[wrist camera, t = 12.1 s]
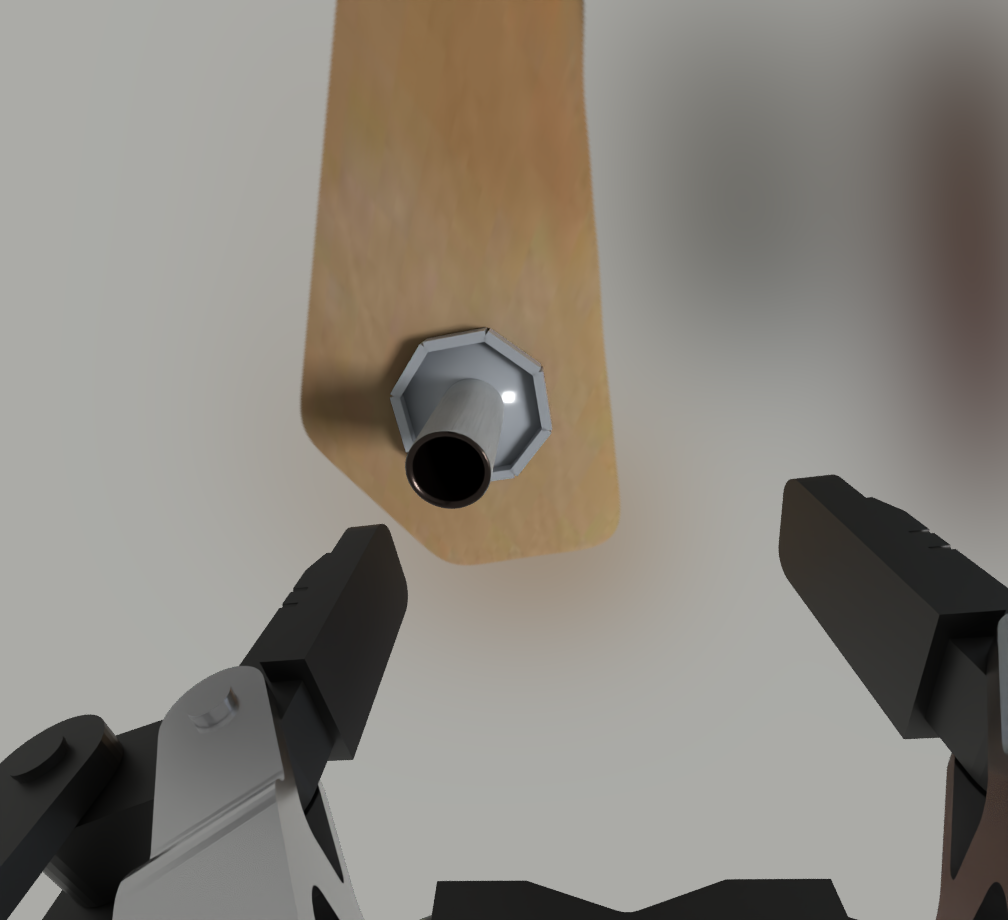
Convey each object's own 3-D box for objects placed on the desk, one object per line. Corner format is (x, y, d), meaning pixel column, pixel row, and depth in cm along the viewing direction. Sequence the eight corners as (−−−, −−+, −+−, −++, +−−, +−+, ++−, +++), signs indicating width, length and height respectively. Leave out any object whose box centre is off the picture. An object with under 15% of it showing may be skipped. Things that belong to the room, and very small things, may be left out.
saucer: (382, 346, 33) (375, 350, 31) (535, 318, 31) (534, 321, 30) (421, 483, 37) (417, 491, 36) (558, 463, 35) (558, 471, 34)
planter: (517, 414, 34) (509, 480, 24) (469, 449, 35) (444, 524, 26) (477, 364, 32) (452, 413, 23) (428, 403, 34) (386, 463, 24)
